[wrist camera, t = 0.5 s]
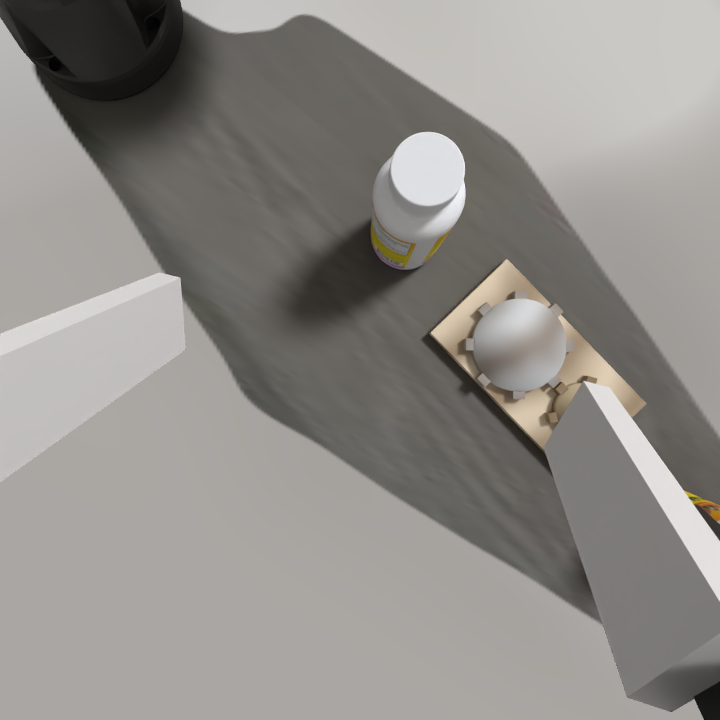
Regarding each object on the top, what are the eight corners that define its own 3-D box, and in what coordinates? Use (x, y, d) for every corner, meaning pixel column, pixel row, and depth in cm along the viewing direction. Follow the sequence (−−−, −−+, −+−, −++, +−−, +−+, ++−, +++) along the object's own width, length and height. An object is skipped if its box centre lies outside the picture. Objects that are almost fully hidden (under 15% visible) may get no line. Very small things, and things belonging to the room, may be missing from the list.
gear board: (428, 333, 35) (436, 330, 32) (502, 261, 35) (519, 250, 31) (563, 473, 35) (588, 487, 32) (638, 402, 35) (671, 407, 32)
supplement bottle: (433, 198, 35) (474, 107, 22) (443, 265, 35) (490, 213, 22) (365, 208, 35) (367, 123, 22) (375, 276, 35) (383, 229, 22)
